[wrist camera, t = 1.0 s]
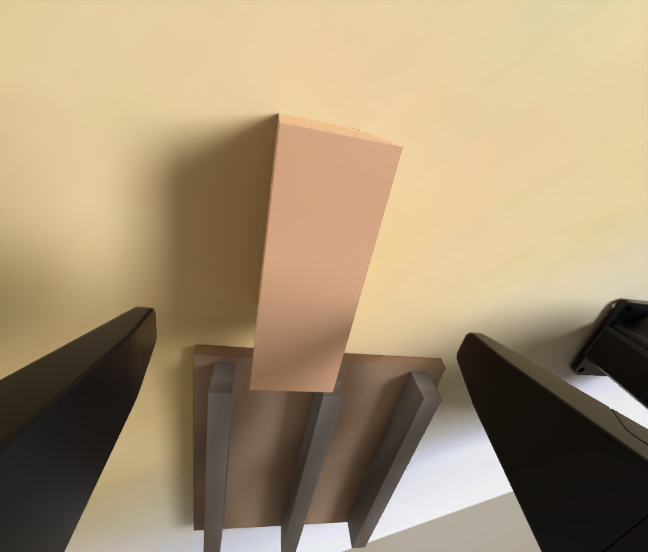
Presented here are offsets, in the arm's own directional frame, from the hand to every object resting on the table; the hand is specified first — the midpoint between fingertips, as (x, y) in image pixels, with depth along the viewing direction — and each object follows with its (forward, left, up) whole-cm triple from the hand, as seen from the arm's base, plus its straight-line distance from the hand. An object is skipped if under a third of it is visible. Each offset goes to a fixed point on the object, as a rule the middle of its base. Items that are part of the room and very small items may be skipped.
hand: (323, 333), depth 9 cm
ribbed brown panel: (-3, +18, -8) cm, 20 cm away
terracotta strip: (0, 0, -8) cm, 8 cm away
